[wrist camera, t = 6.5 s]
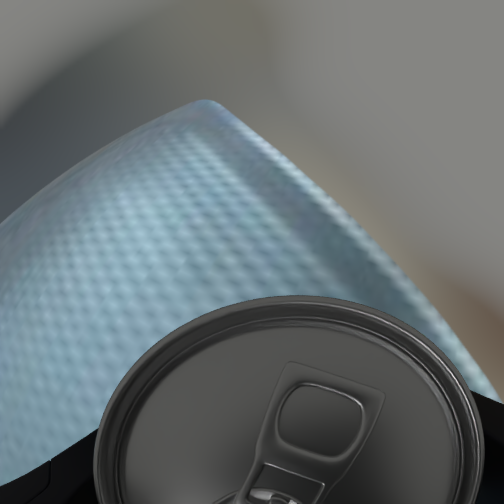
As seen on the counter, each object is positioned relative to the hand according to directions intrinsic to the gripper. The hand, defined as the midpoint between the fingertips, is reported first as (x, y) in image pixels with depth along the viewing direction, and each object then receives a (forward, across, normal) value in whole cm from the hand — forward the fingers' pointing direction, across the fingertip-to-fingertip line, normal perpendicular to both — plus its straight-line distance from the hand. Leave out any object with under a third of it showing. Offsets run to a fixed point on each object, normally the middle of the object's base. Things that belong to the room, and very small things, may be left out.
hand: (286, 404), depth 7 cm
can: (+5, -1, +7) cm, 8 cm away
